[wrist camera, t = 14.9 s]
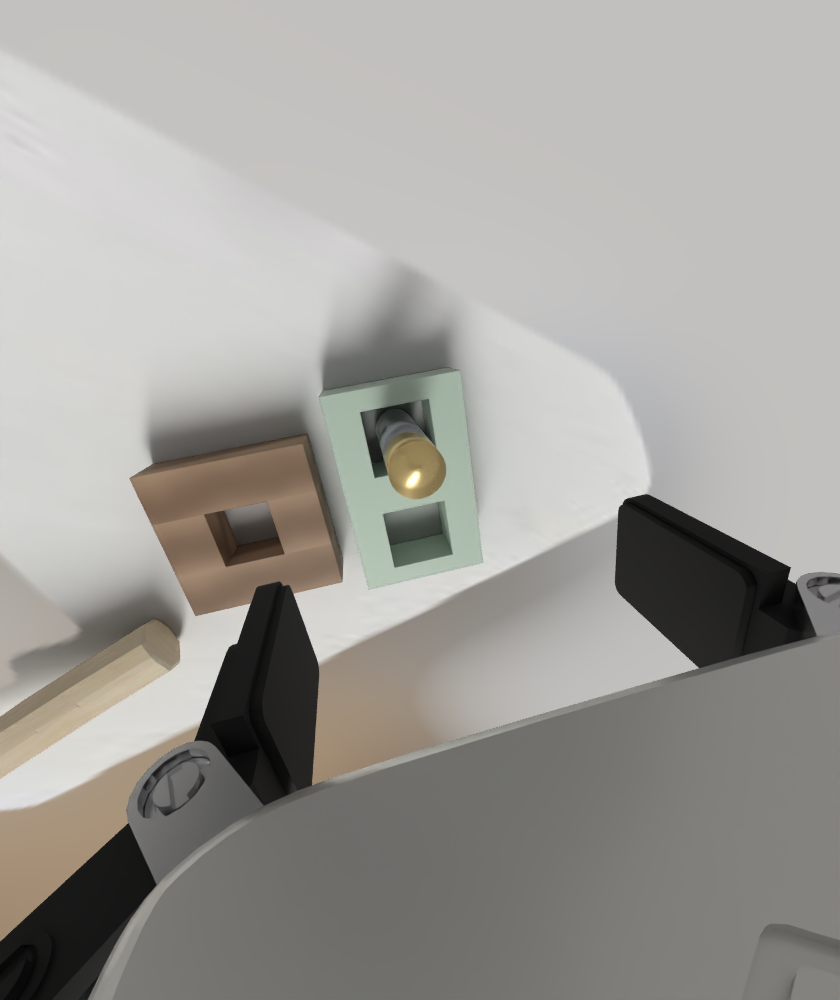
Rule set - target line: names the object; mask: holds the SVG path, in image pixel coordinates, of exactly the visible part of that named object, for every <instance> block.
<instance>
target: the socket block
mask: <svg viewBox="0 0 840 1000" xmlns="http://www.w3.org/2000/svg"><path fill="white" fill-rule="evenodd" d="M129 479H130V481H131V483H132V485H133V487H134V489H135V491H136V493H137V495H138V497H139V500H140V502H141V504H142V506H143V508H144V510H145V512H146V514H147V516H148V518H149V520H150V522H151V525H152V527H153V529H154V531H155V533H156V535H157V537H158V539H159V541H160V543H161V545H162V547H163V549H164V552H165V554H166V556H167V558H168V560H169V562H170V564H171V566H172V568H173V570H174V572H175V574H176V576H177V579H178V581H179V583H180V585H181V587H182V589H183V591H184V593H185V595H186V597H187V599H188V601H189V603H190V606H191V608H192V610H193V612H194V614H195V616H198V615H202V614H207V613H211V612H215V611H220V610H224V609H228V608H233V607H237V606H241V605H245V604H250V603H251V602H252V599H253V596H254V593H255V590H256V588H257V587H258V586H261V585H266V584H270V583H274V582H278V581H280V582H281V583H282V584H283V586H285V585H290V587H291V589H292V592H293V593H297V592H302V591H306V590H310V589H315V588H319V587H323V586H328V585H332V584H336V583H341V582H342V579H343V559H342V555H341V552H340V548H339V544H338V541H337V537H336V534H335V530H334V527H333V523H332V519H331V516H330V512H329V509H328V505H327V502H326V498H325V494H324V491H323V487H322V484H321V480H320V477H319V473H318V470H317V466H316V462H315V459H314V455H313V452H312V448H311V445H310V441H309V437H308V434H303V435H298V436H293V437H288V438H283V439H278V440H273V441H268V442H263V443H258V444H253V445H248V446H243V447H238V448H232V449H227V450H222V451H217V452H212V453H207V454H202V455H197V456H192V457H187V458H182V459H177V460H172V461H167V462H161V463H156V464H152V465H151V466H149V467H147V468H146V469H144V470H142V471H141V472H139V473H137V474H136V475H134V476H132V477H131V478H129ZM266 501H267V504H268V507H269V509H270V512H271V515H272V518H273V521H274V524H275V527H276V530H277V533H278V536H279V537H278V538H273V539H268V540H264V541H259V542H255V543H250V544H246V545H241V546H237V543H236V541H235V538H234V536H233V533H232V531H231V528H230V525H229V523H228V520H227V518H226V515H225V513H224V510H228V509H233V508H238V507H242V506H247V505H252V504H257V503H262V502H266Z"/></svg>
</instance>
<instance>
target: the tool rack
mask: <svg viewBox="0 0 840 1000" xmlns="http://www.w3.org/2000/svg"><path fill="white" fill-rule="evenodd" d="M319 400H320V404H321V408H322V412H323V416H324V420H325V423H326V427H327V431H328V435H329V439H330V443H331V446H332V450H333V454H334V458H335V462H336V466H337V470H338V473H339V477H340V481H341V485H342V489H343V493H344V497H345V500H346V504H347V508H348V512H349V516H350V520H351V523H352V527H353V531H354V535H355V539H356V543H357V547H358V550H359V554H360V558H361V562H362V566H363V570H364V574H365V577H366V581H367V585H368V589H369V590H370V589H374V588H378V587H383V586H387V585H391V584H396V583H400V582H404V581H408V580H413V579H417V578H421V577H425V576H430V575H434V574H438V573H442V572H447V571H451V570H455V569H460V568H464V567H468V566H472V565H477V564H481V563H483V557H482V548H481V540H480V532H479V523H478V515H477V507H476V498H475V490H474V481H473V473H472V465H471V456H470V448H469V440H468V431H467V423H466V415H465V406H464V398H463V389H462V381H461V373H460V370H456V369H452V368H448V367H447V368H442V369H436V370H431V371H426V372H421V373H415V374H410V375H405V376H399V377H394V378H389V379H383V380H378V381H373V382H368V383H362V384H357V385H352V386H346V387H341V388H336V389H330V390H325V391H322V393H321V394H320V396H319ZM419 400H421V402H422V408H423V414H424V420H425V426H426V433H427V437H428V439H429V440H430V441H431V442H432V443H433V445H434V446H435V447H436V448H437V449H438V451H439V452H440V453H441V455H442V456H443V458H444V460H445V463H446V476H445V480H444V482H443V484H442V485H441V487H440V488H439V489H438V490H437V491H436V492H435V493H434V494H432V495H430V496H428V497H426V498H422V499H410V498H406V497H404V496H402V495H400V494H399V493H398V492H397V491H396V490H395V489H394V488H393V486H392V485H391V483H390V480H389V476H388V473H387V469H386V466H385V462H384V461H382V462H377V463H372V461H371V457H370V452H369V448H368V443H367V439H366V434H365V430H364V425H363V421H362V416H361V412H363V411H368V410H373V409H378V408H384V407H389V406H394V405H399V404H404V403H409V402H414V401H419ZM435 502H438V507H439V513H440V520H441V526H442V532H443V534H439V535H434V536H430V537H425V538H421V539H417V540H412V541H408V542H403V543H399V544H394V545H390V542H389V538H388V533H387V529H386V524H385V520H384V515H383V514H385V513H390V512H394V511H399V510H403V509H408V508H413V507H417V506H422V505H426V504H431V503H435Z"/></svg>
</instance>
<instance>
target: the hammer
mask: <svg viewBox="0 0 840 1000" xmlns="http://www.w3.org/2000/svg"><path fill="white" fill-rule="evenodd" d="M179 662H180V646H179V640H178V639H177V638H176V636H175V635H174V634H173V632H172V631H171V629H170V628H169V627H168V626H166V625H165V624H163V623H161V622H160V621H158V620H156V619H153V620H151V621H149V622H147V623H146V624H144V625H142V626H140V627H139V628H137V629H136V630H134V631H132V632H131V633H129V634H128V635H126V636H125V637H123V638H121V639H120V640H118V641H117V642H115V643H113V644H112V645H110V646H109V647H107V648H106V649H104V650H102V651H101V652H99V653H98V654H96V655H94V656H93V657H91V658H90V659H88V660H87V661H85V662H83V663H82V664H80V665H79V666H77V667H75V668H74V669H72V670H71V671H69V672H68V673H66V674H64V675H63V676H61V677H60V678H58V679H57V680H55V681H53V682H52V683H50V684H49V685H47V686H45V687H44V688H42V689H41V690H39V691H38V692H36V693H34V694H33V695H31V696H30V697H28V698H27V699H25V700H24V701H22V702H21V703H19V704H18V705H16V706H15V707H14V708H12V709H11V710H9V711H8V712H6V713H5V714H4V715H2V716H1V717H0V778H2V777H4V776H5V775H7V774H8V773H10V772H11V771H13V770H14V769H16V768H18V767H19V766H21V765H22V764H24V763H25V762H27V761H28V760H30V759H31V758H33V757H35V756H36V755H38V754H39V753H41V752H42V751H44V750H45V749H47V748H49V747H50V746H52V745H53V744H55V743H56V742H58V741H59V740H61V739H62V738H64V737H66V736H67V735H69V734H70V733H72V732H73V731H75V730H76V729H78V728H79V727H81V726H83V725H84V724H86V723H87V722H89V721H90V720H92V719H93V718H95V717H96V716H98V715H99V714H101V713H103V712H104V711H106V710H107V709H109V708H110V707H112V706H114V705H115V704H117V703H118V702H120V701H122V700H123V699H125V698H127V697H128V696H130V695H131V694H133V693H135V692H136V691H138V690H140V689H141V688H143V687H145V686H146V685H148V684H149V683H151V682H153V681H154V680H156V679H158V678H159V677H161V676H162V675H164V674H166V673H167V672H169V671H170V670H172V669H173V668H174V667H175V666H176V665H177V664H178V663H179Z"/></svg>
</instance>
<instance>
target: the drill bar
mask: <svg viewBox="0 0 840 1000" xmlns="http://www.w3.org/2000/svg"><path fill="white" fill-rule="evenodd" d="M376 434H377V437H378V441H379V444H380V448H381V451H382V455H383V459H384V462H385V466H386V469H387V473H388V476H389V480H390V483H391V485H392V486H393V488H394V489H395V490H396V491H397V492H398V493H399V494H400V495H402V496H404V497H406V498H410V499H422V498H426V497H428V496H430V495H432V494H434V493H435V492H436V491H437V490H438V489H439V488H440V487H441V485H442V484H443V482H444V480H445V476H446V463H445V460H444V458H443V456H442V455H441V453H440V452H439V451H438V449H437V448H436V447H435V446H434V445H433V443H432V442H431V441H430V440H429V439H428V437H427V436H426V435H425V434H424V432H423V431H422V430H421V429H420V428H419V426H418V425H417V424H416V423H415V421H414V420H413V419H412V418H411V417H410V415H409V414H407V413H406V412H405V411H402V410H399V409H391V410H388V411H386V412H384V413H383V414H382V415H381V416H380V417H379V419H378V421H377V423H376Z"/></svg>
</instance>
